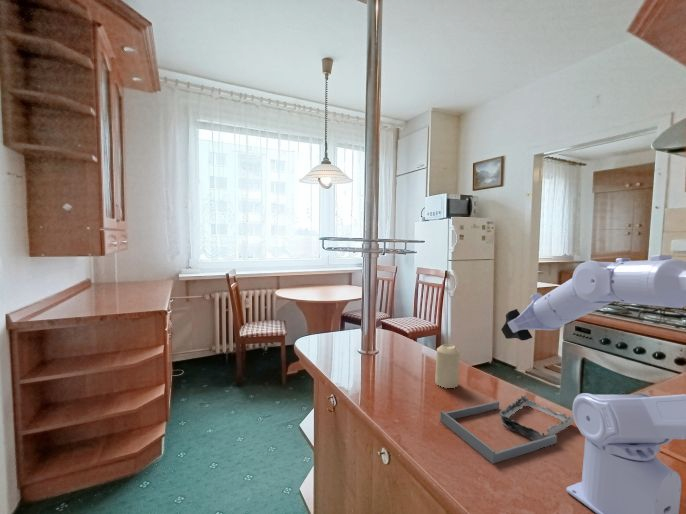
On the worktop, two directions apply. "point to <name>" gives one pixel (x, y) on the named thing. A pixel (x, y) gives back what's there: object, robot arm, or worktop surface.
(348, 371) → the worktop surface
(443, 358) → the candle
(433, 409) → the worktop surface
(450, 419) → the box
